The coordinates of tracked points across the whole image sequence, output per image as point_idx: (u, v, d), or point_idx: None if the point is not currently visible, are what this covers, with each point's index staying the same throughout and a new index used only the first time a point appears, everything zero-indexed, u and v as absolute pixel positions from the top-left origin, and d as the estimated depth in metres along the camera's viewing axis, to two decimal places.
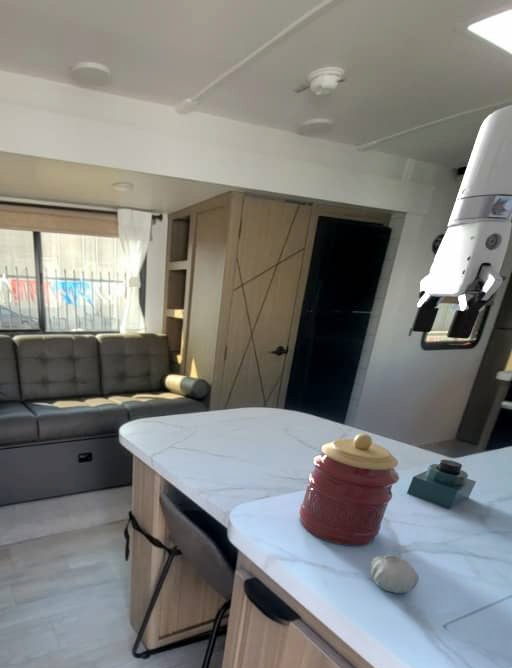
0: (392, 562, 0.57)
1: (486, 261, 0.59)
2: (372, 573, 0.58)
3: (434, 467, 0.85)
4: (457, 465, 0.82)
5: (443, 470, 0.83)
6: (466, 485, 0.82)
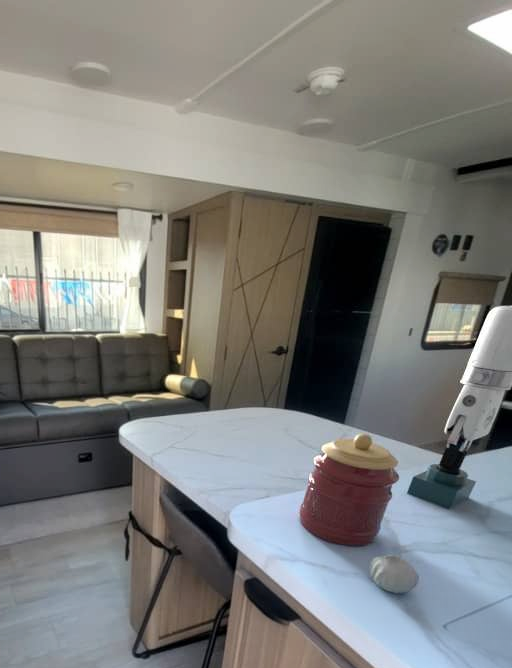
0: (392, 562, 0.57)
1: (462, 414, 0.76)
2: (372, 573, 0.58)
3: (434, 467, 0.85)
4: None
5: None
6: (466, 485, 0.82)
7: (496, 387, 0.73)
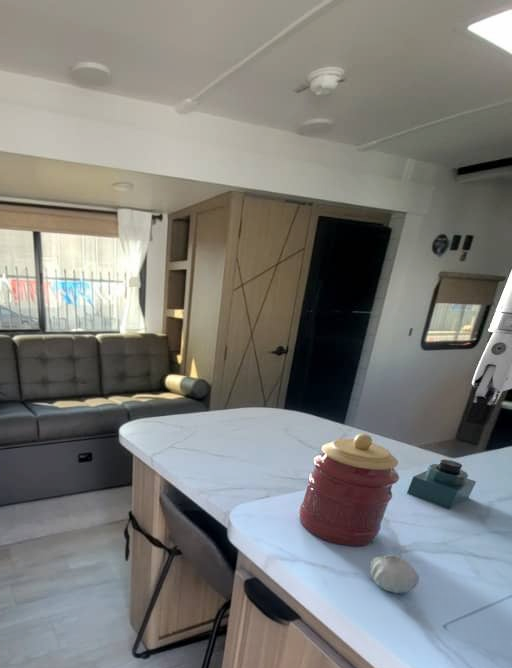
0: (392, 562, 0.57)
1: (491, 363, 0.72)
2: (372, 573, 0.58)
3: (434, 467, 0.85)
4: (457, 465, 0.82)
5: (443, 470, 0.83)
6: (466, 485, 0.82)
7: None
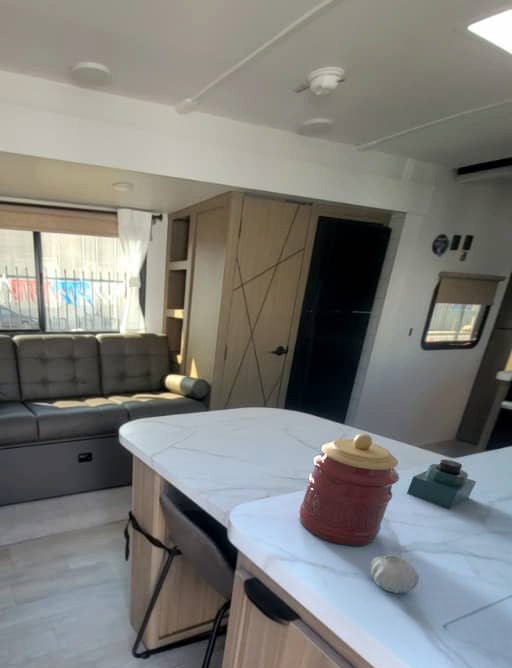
0: (392, 562, 0.57)
1: None
2: (372, 573, 0.58)
3: (434, 467, 0.85)
4: (457, 465, 0.82)
5: (443, 470, 0.83)
6: (466, 485, 0.82)
7: None
